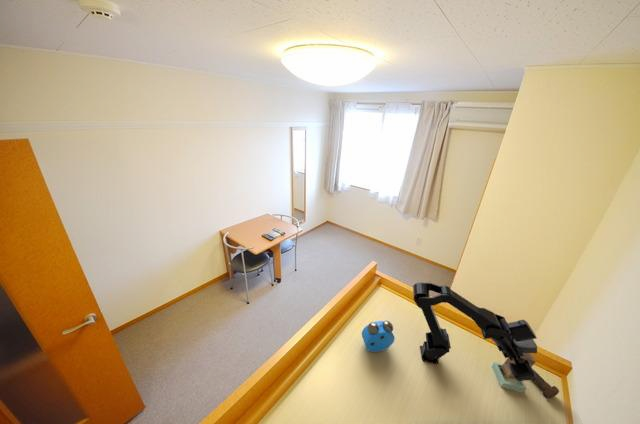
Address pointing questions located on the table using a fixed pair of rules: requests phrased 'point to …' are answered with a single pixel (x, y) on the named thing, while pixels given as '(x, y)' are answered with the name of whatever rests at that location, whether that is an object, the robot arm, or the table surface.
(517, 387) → the collar
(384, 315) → the table surface
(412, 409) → the table surface
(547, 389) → the bolt
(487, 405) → the table surface
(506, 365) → the peg
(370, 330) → the alarm clock
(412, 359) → the table surface
